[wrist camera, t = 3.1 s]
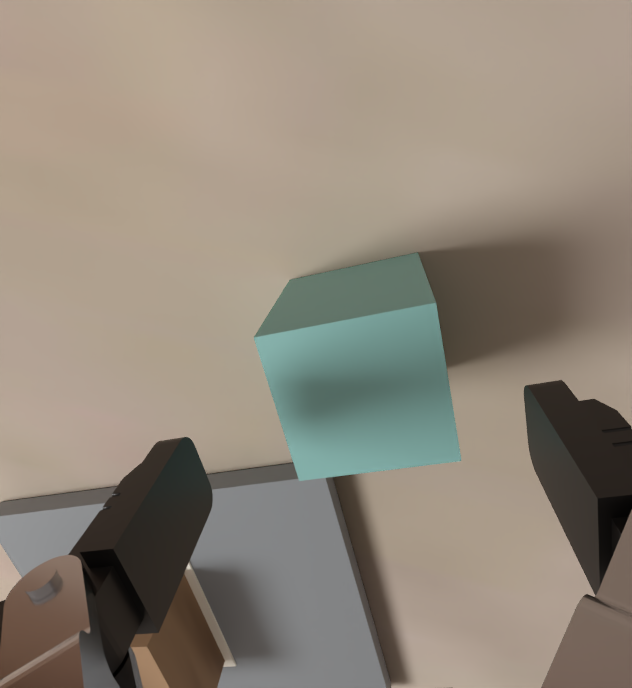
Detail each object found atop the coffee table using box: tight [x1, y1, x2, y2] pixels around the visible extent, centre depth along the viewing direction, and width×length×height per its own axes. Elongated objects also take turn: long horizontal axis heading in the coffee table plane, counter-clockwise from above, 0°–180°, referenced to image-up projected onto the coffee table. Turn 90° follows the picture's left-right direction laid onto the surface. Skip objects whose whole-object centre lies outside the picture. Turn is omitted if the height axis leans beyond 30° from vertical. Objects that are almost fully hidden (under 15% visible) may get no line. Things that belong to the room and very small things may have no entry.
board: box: [0, 463, 391, 688], centre depth 26 cm, size 18×16×1 cm
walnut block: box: [130, 574, 225, 688], centre depth 24 cm, size 7×7×4 cm
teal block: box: [254, 252, 461, 481], centre depth 16 cm, size 5×5×6 cm
